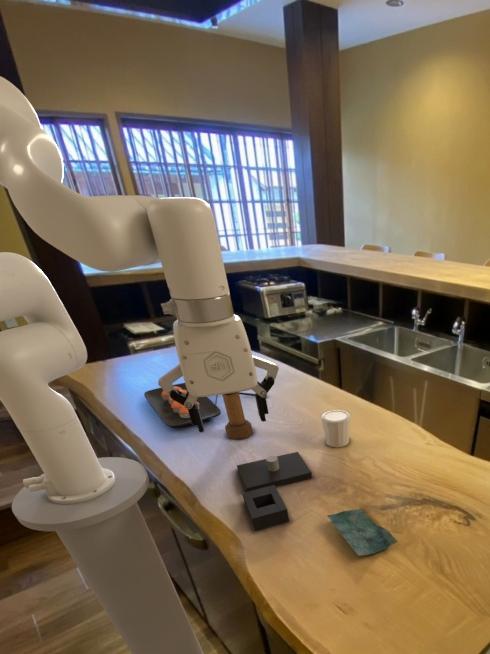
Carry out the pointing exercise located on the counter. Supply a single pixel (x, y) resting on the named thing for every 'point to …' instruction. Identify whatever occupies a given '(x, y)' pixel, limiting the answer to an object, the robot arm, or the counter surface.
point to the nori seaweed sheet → (362, 532)
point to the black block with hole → (265, 507)
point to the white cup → (336, 427)
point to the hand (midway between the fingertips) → (232, 423)
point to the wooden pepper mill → (236, 417)
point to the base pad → (274, 471)
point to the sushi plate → (180, 406)
